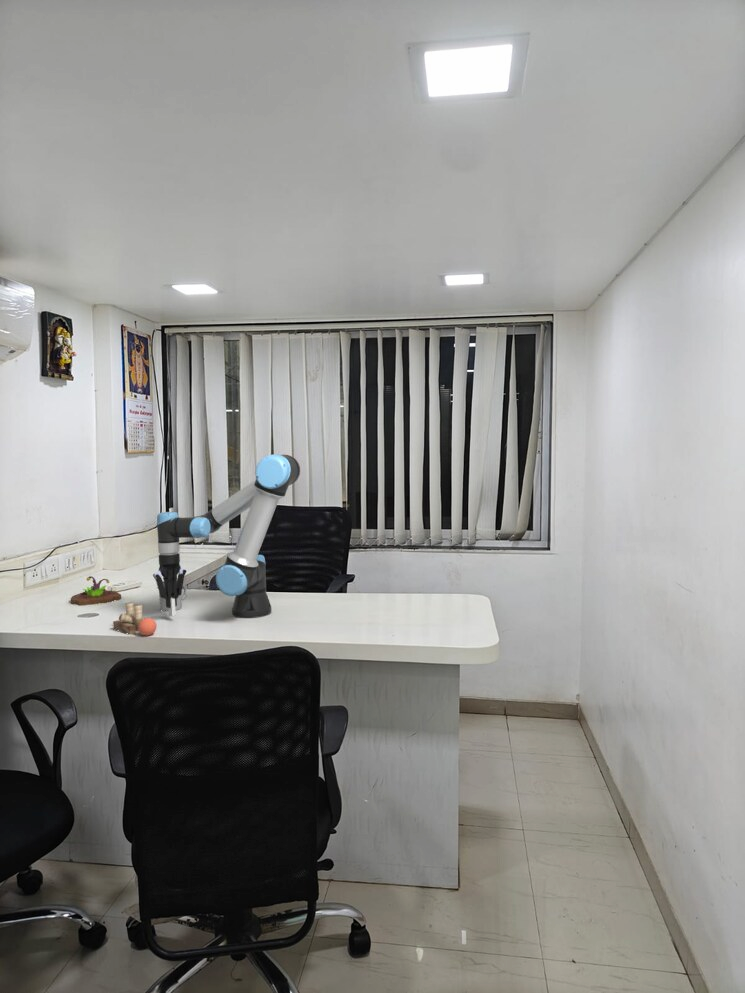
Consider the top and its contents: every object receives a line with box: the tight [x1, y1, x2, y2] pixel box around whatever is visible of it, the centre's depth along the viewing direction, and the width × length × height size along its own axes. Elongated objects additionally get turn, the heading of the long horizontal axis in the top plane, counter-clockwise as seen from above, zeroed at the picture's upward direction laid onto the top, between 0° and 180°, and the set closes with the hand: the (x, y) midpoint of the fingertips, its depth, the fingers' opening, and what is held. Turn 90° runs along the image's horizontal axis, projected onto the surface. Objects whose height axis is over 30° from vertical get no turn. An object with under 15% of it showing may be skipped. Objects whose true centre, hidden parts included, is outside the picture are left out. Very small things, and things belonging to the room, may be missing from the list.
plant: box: [70, 575, 122, 606], centre depth 287 cm, size 20×20×11 cm
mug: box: [158, 580, 188, 612], centre depth 267 cm, size 12×8×11 cm
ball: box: [138, 617, 157, 637], centre depth 226 cm, size 6×6×6 cm
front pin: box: [118, 613, 135, 625], centre depth 234 cm, size 3×3×9 cm
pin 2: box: [134, 604, 143, 632], centre depth 233 cm, size 3×3×9 cm
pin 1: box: [125, 602, 135, 617], centre depth 237 cm, size 3×3×9 cm
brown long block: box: [112, 619, 137, 635], centre depth 232 cm, size 12×2×3 cm, turn 48°
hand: (171, 615), depth 246 cm, fingers closed
